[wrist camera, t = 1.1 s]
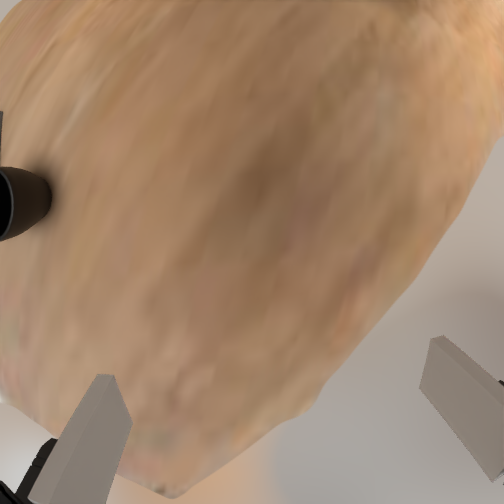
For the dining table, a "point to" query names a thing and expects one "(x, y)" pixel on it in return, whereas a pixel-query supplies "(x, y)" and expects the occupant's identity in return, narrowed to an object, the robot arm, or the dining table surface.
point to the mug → (21, 201)
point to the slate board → (0, 124)
